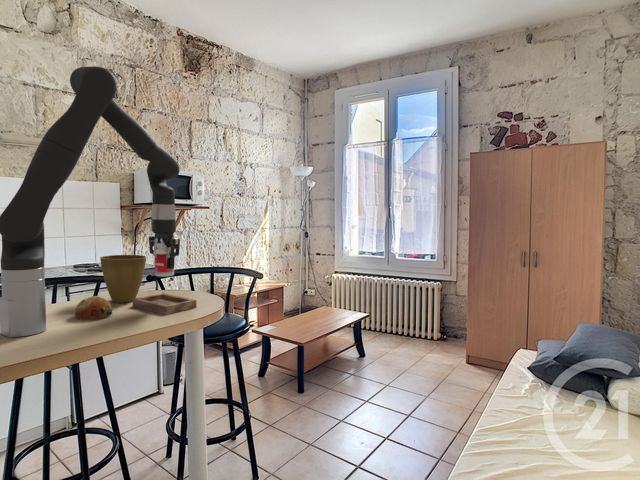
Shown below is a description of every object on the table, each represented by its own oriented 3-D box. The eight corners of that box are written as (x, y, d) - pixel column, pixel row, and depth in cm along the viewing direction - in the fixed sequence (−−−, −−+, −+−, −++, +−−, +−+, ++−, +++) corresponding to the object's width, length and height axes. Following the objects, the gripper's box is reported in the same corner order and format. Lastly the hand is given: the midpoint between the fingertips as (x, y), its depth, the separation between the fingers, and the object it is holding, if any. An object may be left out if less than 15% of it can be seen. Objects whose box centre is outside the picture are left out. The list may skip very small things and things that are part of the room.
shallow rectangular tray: (165, 314, 127) (165, 306, 127) (132, 306, 137) (132, 298, 136) (196, 307, 137) (196, 300, 137) (163, 299, 147) (163, 293, 146)
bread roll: (103, 322, 130) (95, 299, 131) (122, 312, 125) (114, 288, 126) (73, 330, 121) (65, 305, 122) (92, 320, 117) (84, 294, 118)
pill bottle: (150, 275, 135) (150, 242, 134) (167, 273, 140) (166, 241, 139) (161, 277, 131) (161, 244, 131) (178, 275, 136) (177, 242, 136)
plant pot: (130, 306, 136) (129, 259, 135) (91, 304, 138) (90, 258, 137) (155, 297, 151) (154, 255, 149) (119, 295, 153) (118, 253, 152)
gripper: (187, 218, 133) (187, 268, 135) (160, 217, 141) (160, 264, 143) (167, 218, 127) (168, 271, 128) (140, 217, 135) (141, 267, 136)
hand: (164, 267), depth 135 cm, fingers closed on pill bottle, 6 cm apart
